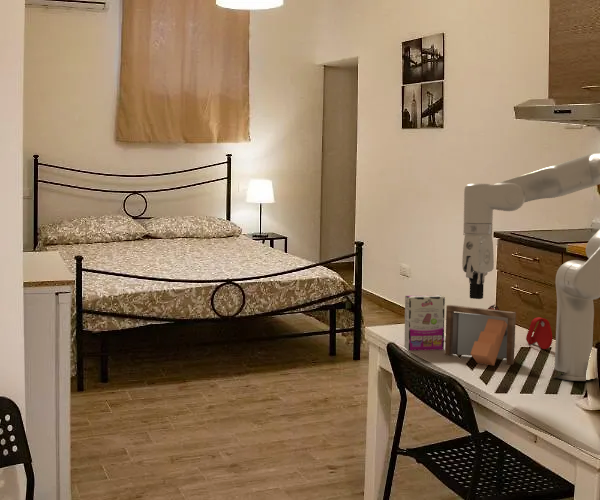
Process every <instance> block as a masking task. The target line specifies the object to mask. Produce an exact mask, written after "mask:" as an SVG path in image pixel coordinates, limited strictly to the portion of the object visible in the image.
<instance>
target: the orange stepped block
mask: <svg viewBox="0 0 600 500" xmlns="http://www.w3.org/2000/svg"><path fill="white" fill-rule="evenodd" d="M506 328H507V323H506V322H505V321H504V320H496V319H488V321H487V324H486V326H485V329H484V332H483V331H481V333H480V336H479V339H478V341H475V342H474V345H473V348H472V351H471V353H470V354H471V355H472V358H473V359H474V361H475V362H476V363H477V364H480V365H487V366H495V363H496V362H497V359H498V358H497V355H498V352H499V349H500V346H501V343H502V340H503V337H504V334H505V331H506Z"/></svg>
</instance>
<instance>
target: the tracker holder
mask: <svg viewBox="0 0 600 500" xmlns="http://www.w3.org/2000/svg"><path fill="white" fill-rule="evenodd" d="M537 323H538V324H537ZM525 340H526V343H527V344H528V345H530V346H534V345H536V344H537V345H538V347H539V348H540V349H542V350H547V349H550V347H551V346H552V343H553V331H552V326H551V322H550V321H549V320H548V319H547V318H543V317H540V316H538V317H534V318H532V320H531V321H530V325H529V328H528V331H527V333H526V336H525Z"/></svg>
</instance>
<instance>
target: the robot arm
mask: <svg viewBox="0 0 600 500" xmlns="http://www.w3.org/2000/svg"><path fill="white" fill-rule="evenodd" d="M598 185H600V151H596V152H592V153H589V154H586V155H583V156H580V157H576V158H573V159H570V160H567V161H564V162H561V163H557V164H553V165H551V166H548V167H544V168H541V169H539V170H535V171H533V172H529V173H525V174H522V175H519V176H514V177H512V178H509V179H506V180H502V181H499V182H497V183H494V184H490V183H467V184H466V185H465V187H464V190H463V191H464V193H463V236H464V237H463V247H462V258H461V259H462V262H461V264H462V271H463V273H465V277H466V278H467V279H468V284H469V298H470V299H472V300H473V299H474V300H475V299H476V300H482V299H484V284H485V279H486V276H487V275H488V274H489V272H492V271H493V270H494V265H495V264H494V262H495V261H494V259H495V258H494V242H493V218H494V217H493V215H494V211H495V210H496V211H503V212H514V211H516V210H518V209H520V208H522V206H523V205H524V204H525V203H528V202H531V201H537V200H542V199H543V200H544V199H553V198H554V199H555V198H559V197H563V196H566V195H571V194H573V193H576V192H579V191H582V190H585V189H588V188H591V187H595V186H598ZM585 256H586V257H587V258H588V259H587V261H584V260H579V259H571V260H568V261H565V262H564V263H563V264H561V265H560V266H559V268H558V269H557V271H556V274H555V290H556V323H555V324H556V325H555V327H556V328H555V351H554V356H555V357H554V370H556V372H557V371H558V372H561V374H559V375H557V376H555V377H554V378H556V379H558V380H559V379H560V380H564V381H565V380H566V381H575V382H587V381H586V370H587V365H588V359H589V356H590V352H591V350H592V351H593V338H594V335H593V334H594V319H595V306H594V300H597V299H599V298H600V228H599V229H598V230H597V231H596V232H595V233H594V234H593V236H592V237H590V239H589V240H588V242H587V244H586V246H585Z"/></svg>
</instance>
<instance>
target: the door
mask: <svg viewBox="0 0 600 500" xmlns="http://www.w3.org/2000/svg"><path fill="white" fill-rule="evenodd" d="M488 319H496V320H504V321H505V322H506V323H507V328H506V331H505V334H504V337H503V340H502V343H501V346H500V349H499V352H498V355H497V358H496V359H506V355H507V329H508V318H504V317H496V316H487V315H479V314H470V313H462V312H454V313H453V343H452V355H460V356H472V355H471V354H470V353H471V351H472V348H473V345H474V342H475V341H478V339H479V336H480V333H481V331H483V332H484V329H485V326H486V324H487V321H488Z"/></svg>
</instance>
